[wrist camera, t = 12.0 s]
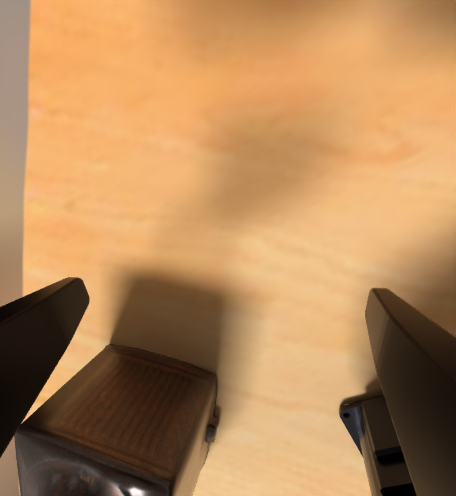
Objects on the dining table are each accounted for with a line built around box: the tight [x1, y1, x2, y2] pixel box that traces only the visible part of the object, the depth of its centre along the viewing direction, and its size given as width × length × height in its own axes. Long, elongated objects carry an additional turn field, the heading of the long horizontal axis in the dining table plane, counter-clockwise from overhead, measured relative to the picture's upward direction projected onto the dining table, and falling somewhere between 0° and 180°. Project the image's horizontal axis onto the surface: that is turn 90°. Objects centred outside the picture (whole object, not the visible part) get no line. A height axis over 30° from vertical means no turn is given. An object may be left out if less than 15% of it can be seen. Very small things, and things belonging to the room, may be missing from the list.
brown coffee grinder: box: [14, 345, 217, 496], centre depth 17 cm, size 16×11×18 cm
